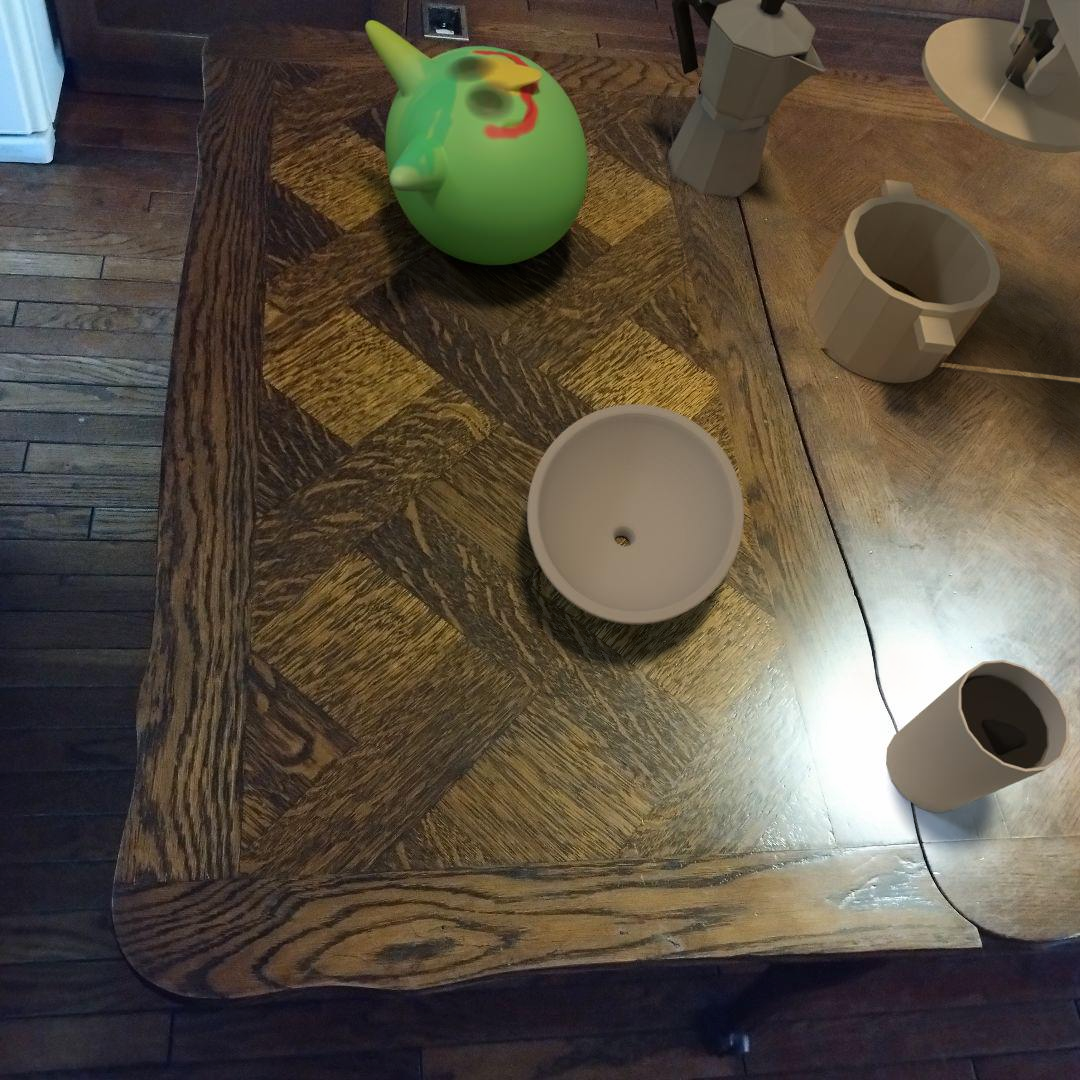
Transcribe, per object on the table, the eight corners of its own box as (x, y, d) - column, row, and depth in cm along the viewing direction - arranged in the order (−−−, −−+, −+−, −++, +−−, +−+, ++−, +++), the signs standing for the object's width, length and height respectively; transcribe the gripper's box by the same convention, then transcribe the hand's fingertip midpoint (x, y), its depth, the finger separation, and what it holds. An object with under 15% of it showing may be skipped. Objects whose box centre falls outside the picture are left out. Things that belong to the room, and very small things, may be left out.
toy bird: (594, 296, 81) (635, 146, 69) (390, 312, 77) (394, 156, 65) (542, 150, 90) (570, -8, 77) (355, 157, 85) (353, -8, 73)
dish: (566, 417, 74) (578, 374, 70) (745, 485, 74) (768, 446, 69) (481, 608, 65) (489, 573, 61) (684, 689, 64) (707, 658, 60)
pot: (925, 259, 90) (973, 184, 83) (966, 416, 81) (1025, 347, 73) (792, 242, 88) (830, 164, 81) (819, 400, 79) (864, 328, 72)
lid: (1076, 49, 72) (1118, -14, 68) (1131, 174, 65) (1181, 111, 61) (901, 20, 70) (933, -46, 66) (937, 145, 63) (976, 79, 59)
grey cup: (996, 801, 64) (1093, 752, 55) (911, 832, 62) (998, 786, 53) (944, 708, 67) (1028, 647, 58) (861, 735, 65) (936, 676, 56)
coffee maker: (791, 187, 92) (875, 0, 77) (738, 229, 88) (816, 41, 73) (668, 104, 96) (725, -90, 81) (612, 141, 92) (661, -56, 76)
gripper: (1290, -42, 50) (1113, 182, 61) (1165, -229, 60) (1034, -8, 72) (1176, -63, 49) (1018, 168, 61) (1069, -249, 59) (952, -21, 71)
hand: (1026, 71), depth 66 cm, fingers closed on lid, 2 cm apart
